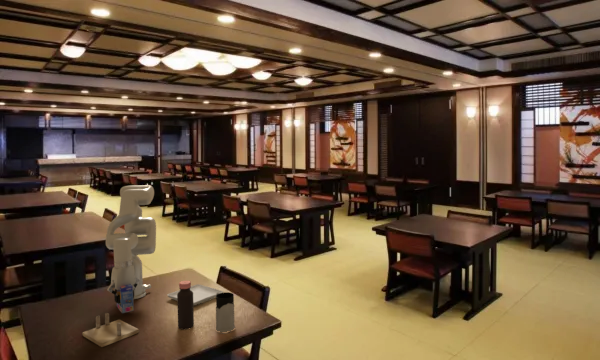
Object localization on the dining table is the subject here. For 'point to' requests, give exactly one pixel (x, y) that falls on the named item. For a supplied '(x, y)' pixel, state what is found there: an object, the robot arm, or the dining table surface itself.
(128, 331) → the pin board
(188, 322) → the bottle
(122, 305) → the ink cartridge box
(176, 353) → the dining table surface
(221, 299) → the glass holder
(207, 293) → the salad plate
